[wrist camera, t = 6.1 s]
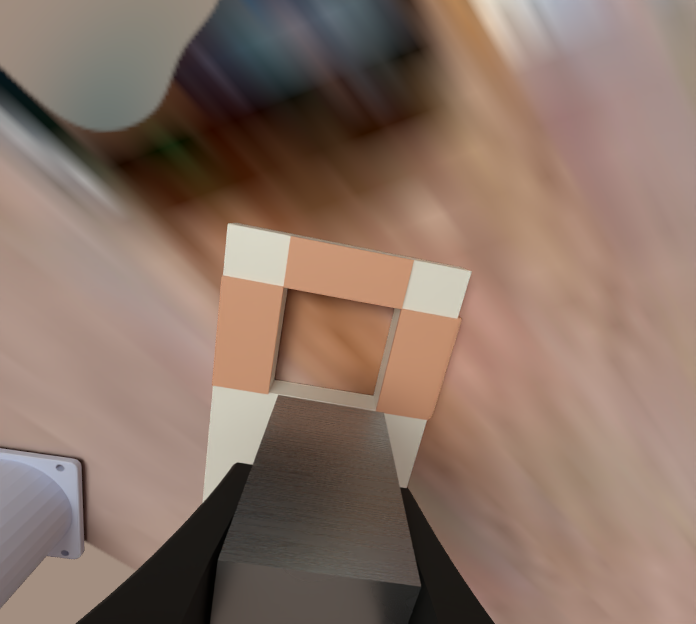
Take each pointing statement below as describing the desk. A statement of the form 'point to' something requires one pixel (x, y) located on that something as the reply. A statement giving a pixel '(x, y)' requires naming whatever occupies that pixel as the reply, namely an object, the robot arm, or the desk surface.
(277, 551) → the dark grey block
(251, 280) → the board with square holes
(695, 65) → the desk surface
